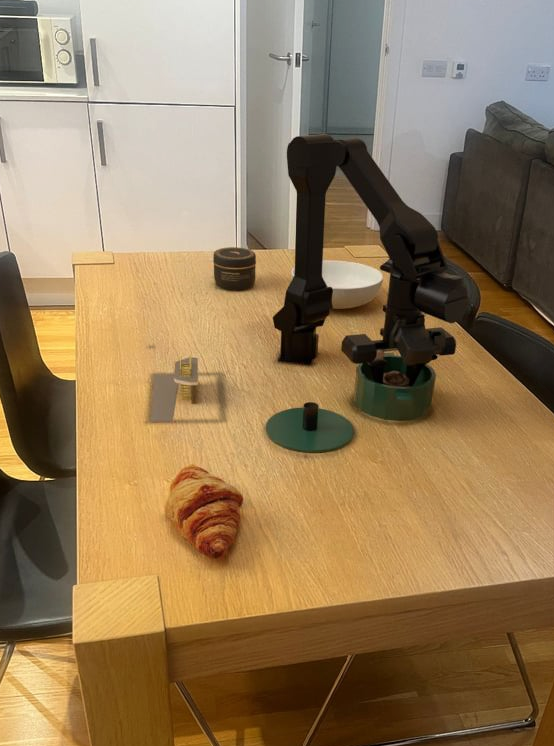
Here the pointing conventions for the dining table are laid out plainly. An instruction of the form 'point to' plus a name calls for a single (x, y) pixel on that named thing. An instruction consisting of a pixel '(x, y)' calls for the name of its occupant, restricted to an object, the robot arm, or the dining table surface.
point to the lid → (309, 429)
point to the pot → (394, 392)
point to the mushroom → (395, 379)
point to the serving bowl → (350, 282)
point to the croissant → (204, 510)
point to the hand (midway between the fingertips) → (393, 391)
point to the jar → (234, 268)
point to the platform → (173, 389)
